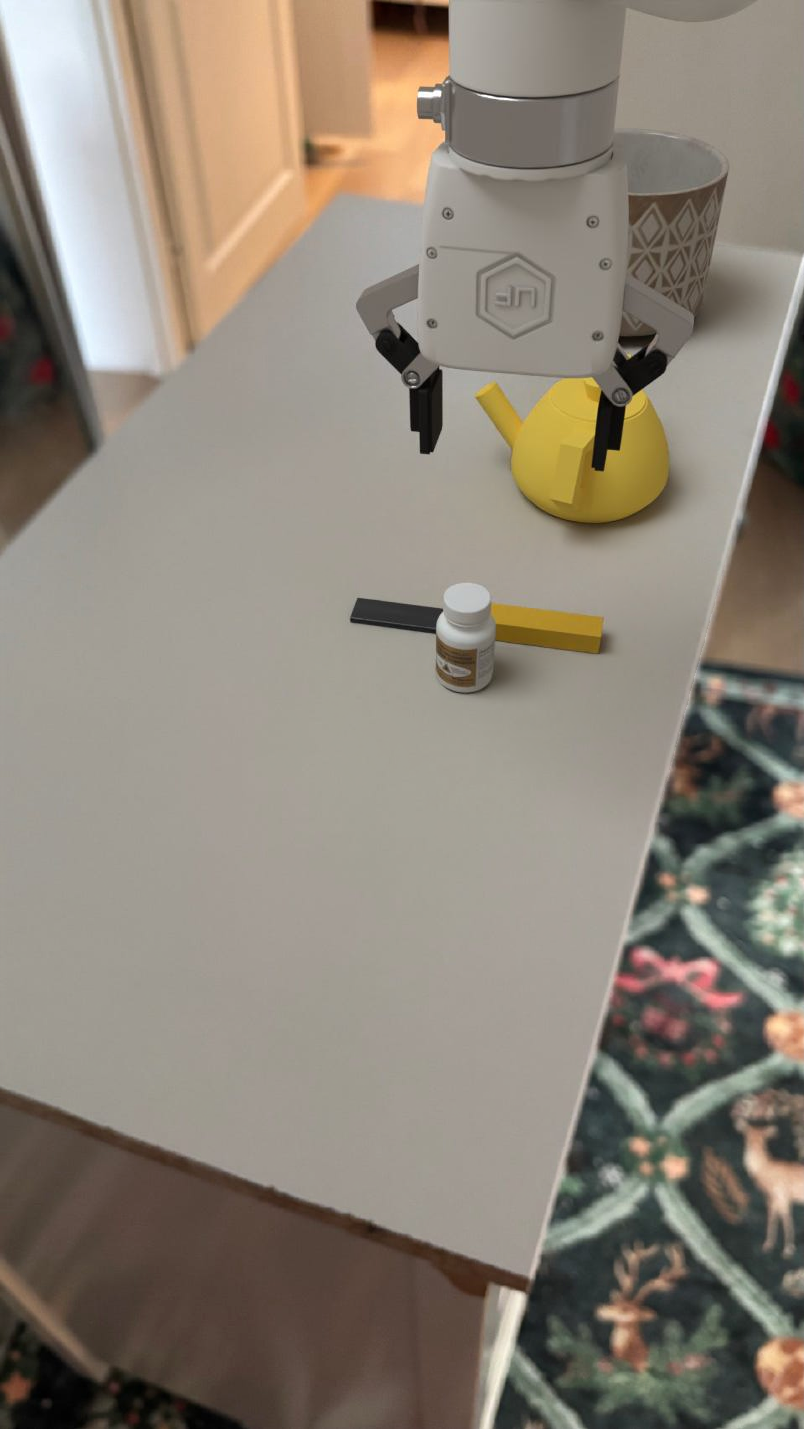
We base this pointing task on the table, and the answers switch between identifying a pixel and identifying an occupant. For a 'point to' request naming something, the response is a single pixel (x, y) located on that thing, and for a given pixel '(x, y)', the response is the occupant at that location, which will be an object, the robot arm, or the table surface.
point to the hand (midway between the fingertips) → (514, 449)
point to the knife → (509, 623)
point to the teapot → (581, 452)
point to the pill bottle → (465, 638)
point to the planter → (671, 215)
